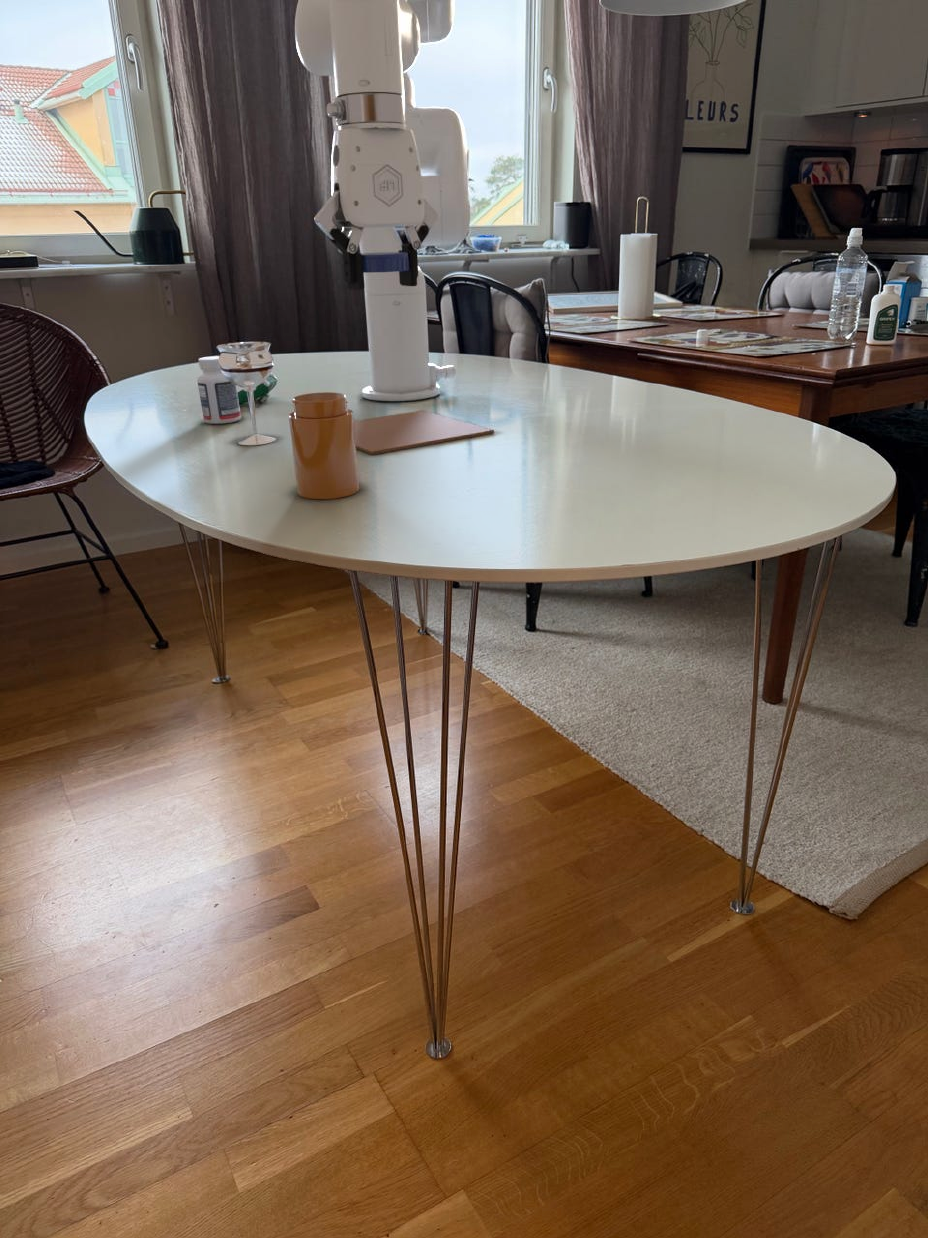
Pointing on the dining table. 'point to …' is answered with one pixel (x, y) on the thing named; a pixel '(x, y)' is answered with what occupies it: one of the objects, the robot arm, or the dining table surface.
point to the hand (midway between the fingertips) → (382, 286)
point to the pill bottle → (217, 393)
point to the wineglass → (247, 375)
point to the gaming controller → (259, 391)
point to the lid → (385, 262)
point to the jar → (324, 446)
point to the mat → (411, 431)
